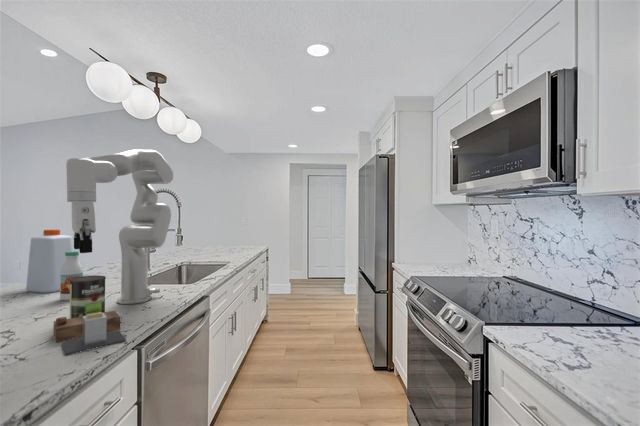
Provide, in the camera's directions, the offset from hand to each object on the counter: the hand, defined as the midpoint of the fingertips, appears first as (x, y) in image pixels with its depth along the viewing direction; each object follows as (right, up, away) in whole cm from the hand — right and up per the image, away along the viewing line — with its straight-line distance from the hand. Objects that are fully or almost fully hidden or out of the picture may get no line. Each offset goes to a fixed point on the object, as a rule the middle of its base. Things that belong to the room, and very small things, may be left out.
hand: (82, 250), depth 104 cm
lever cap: (+12, -25, -11) cm, 29 cm away
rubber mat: (+12, -25, -11) cm, 30 cm away
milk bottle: (-29, -24, +33) cm, 50 cm away
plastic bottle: (-50, -24, +48) cm, 73 cm away
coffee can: (-5, -25, +9) cm, 27 cm away
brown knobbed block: (+4, -25, -3) cm, 25 cm away
